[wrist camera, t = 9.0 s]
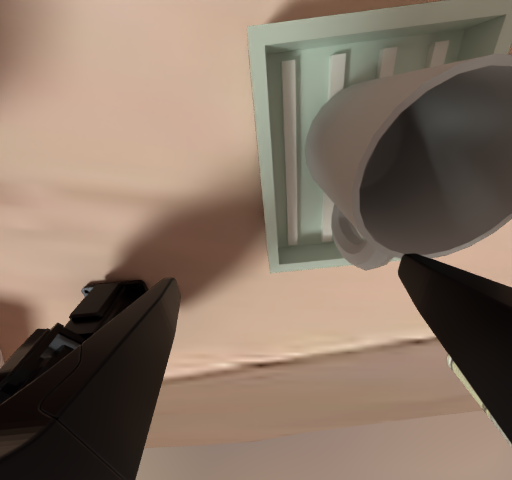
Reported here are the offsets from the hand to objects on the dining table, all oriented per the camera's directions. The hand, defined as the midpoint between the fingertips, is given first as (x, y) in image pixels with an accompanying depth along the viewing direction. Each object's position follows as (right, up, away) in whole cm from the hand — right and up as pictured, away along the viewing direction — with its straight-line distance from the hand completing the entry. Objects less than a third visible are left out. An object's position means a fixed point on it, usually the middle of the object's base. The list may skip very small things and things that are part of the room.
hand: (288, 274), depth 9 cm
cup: (+5, +7, +8) cm, 12 cm away
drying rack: (+6, +8, +9) cm, 13 cm away
